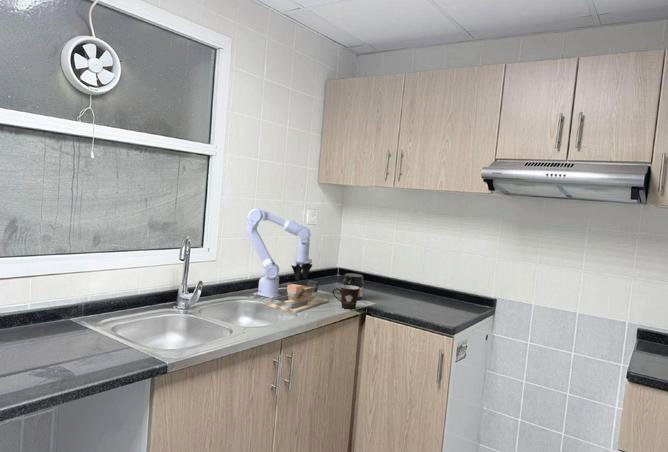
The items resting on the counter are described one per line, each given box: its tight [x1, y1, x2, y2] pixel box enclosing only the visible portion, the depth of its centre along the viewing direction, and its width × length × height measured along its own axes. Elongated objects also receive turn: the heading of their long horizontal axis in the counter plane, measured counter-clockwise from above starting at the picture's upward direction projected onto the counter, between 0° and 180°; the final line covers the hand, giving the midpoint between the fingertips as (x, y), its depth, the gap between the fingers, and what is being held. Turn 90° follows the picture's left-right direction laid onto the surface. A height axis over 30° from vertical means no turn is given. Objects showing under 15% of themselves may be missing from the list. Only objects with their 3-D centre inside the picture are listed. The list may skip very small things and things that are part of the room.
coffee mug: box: [332, 284, 359, 310], centre depth 218 cm, size 12×9×10 cm
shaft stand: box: [263, 284, 330, 313], centre depth 219 cm, size 17×29×8 cm, turn 150°
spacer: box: [286, 283, 303, 294], centre depth 216 cm, size 5×5×3 cm
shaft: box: [287, 279, 319, 298], centre depth 222 cm, size 5×20×5 cm, turn 150°
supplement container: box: [342, 273, 365, 301], centre depth 239 cm, size 10×10×12 cm
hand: (301, 278), depth 231 cm, fingers open, 6 cm apart
